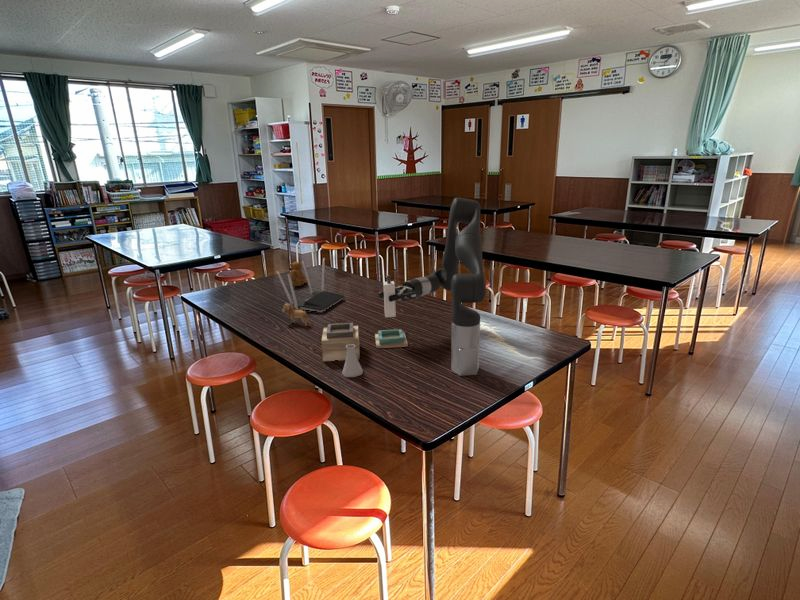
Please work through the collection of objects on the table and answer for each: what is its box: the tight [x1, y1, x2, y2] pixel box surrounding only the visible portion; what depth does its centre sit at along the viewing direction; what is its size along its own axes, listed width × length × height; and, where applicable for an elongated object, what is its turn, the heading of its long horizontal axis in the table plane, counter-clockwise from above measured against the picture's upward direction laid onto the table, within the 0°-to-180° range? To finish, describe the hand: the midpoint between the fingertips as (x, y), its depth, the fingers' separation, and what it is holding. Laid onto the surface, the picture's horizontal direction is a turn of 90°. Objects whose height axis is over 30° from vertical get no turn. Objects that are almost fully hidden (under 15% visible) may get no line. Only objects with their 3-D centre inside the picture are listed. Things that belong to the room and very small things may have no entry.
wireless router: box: [275, 257, 345, 313], centre depth 220 cm, size 34×23×20 cm
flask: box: [341, 344, 364, 378], centre depth 150 cm, size 7×7×10 cm
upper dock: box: [321, 322, 361, 362], centre depth 166 cm, size 13×13×10 cm
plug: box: [382, 274, 397, 318], centre depth 171 cm, size 4×4×16 cm
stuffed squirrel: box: [287, 261, 308, 287], centre depth 256 cm, size 10×14×13 cm
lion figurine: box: [281, 303, 314, 327], centre depth 196 cm, size 15×5×9 cm, turn 67°
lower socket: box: [374, 328, 409, 349], centre depth 176 cm, size 12×12×3 cm
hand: (384, 297), depth 169 cm, fingers closed on plug, 5 cm apart
